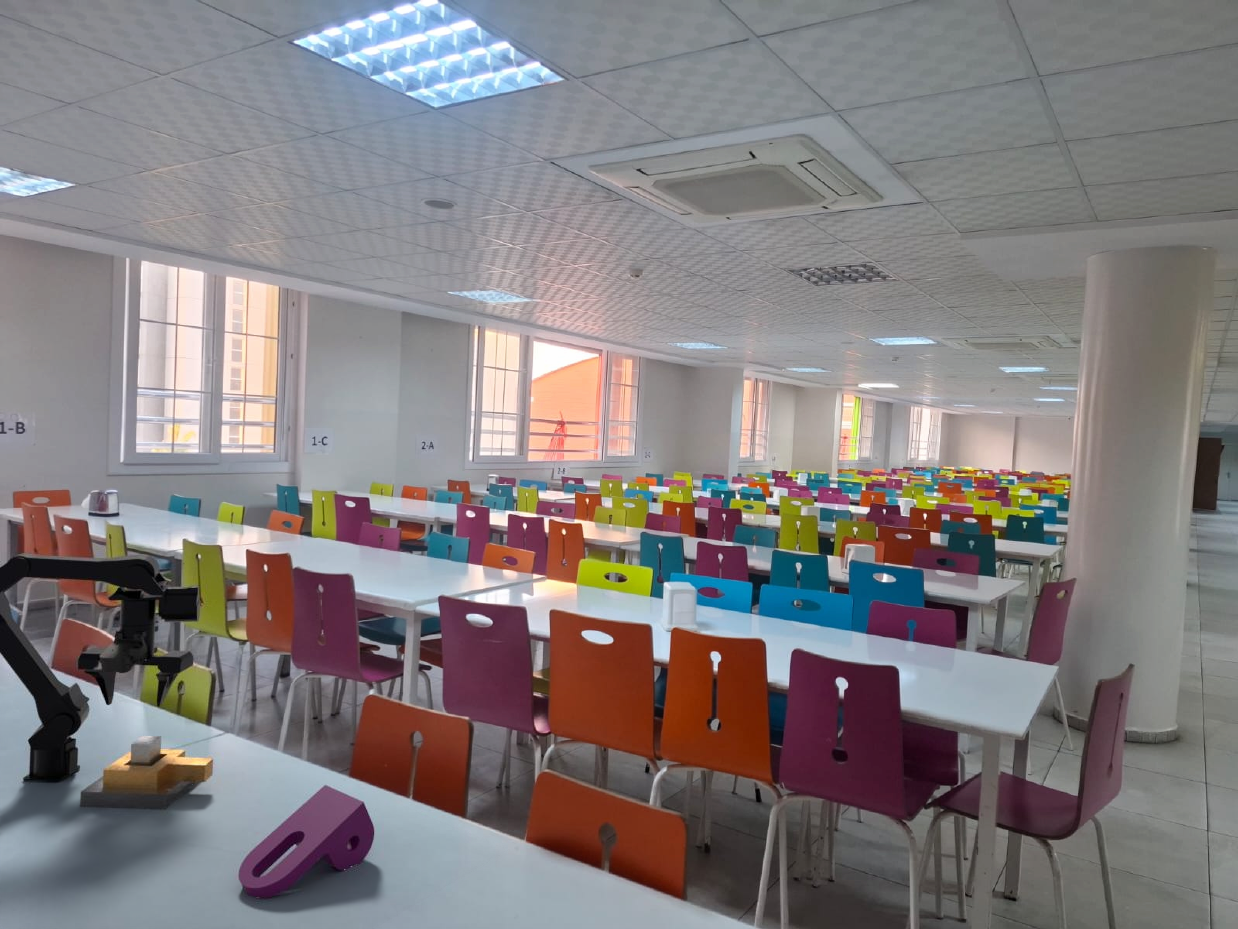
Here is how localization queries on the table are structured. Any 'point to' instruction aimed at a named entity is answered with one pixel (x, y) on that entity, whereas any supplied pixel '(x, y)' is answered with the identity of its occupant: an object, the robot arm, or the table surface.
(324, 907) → the table surface
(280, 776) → the table surface
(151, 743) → the grey rectangular block
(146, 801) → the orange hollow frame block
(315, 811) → the mounting bracket
